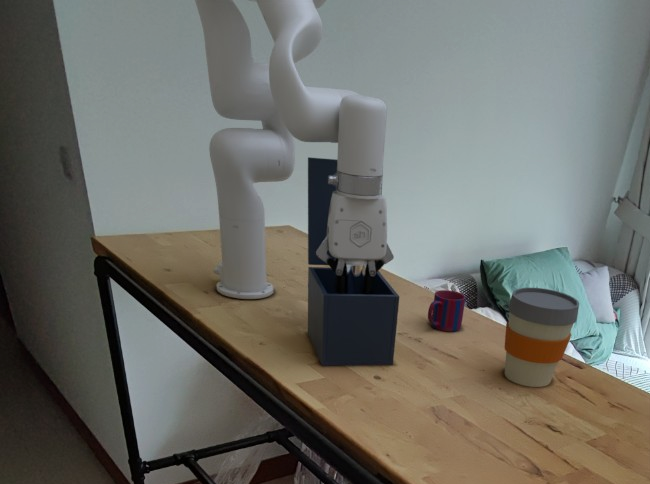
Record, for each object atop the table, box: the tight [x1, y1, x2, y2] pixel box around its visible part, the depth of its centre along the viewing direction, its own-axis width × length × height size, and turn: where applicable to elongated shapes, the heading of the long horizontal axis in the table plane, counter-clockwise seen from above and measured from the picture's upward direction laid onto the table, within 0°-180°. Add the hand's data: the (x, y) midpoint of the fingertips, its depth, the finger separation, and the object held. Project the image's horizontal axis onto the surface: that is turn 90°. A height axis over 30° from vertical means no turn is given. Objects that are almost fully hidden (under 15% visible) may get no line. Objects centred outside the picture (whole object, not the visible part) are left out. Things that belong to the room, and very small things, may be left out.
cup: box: [427, 289, 467, 333], centre depth 139 cm, size 7×10×7 cm
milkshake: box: [343, 259, 368, 294], centre depth 117 cm, size 5×5×10 cm
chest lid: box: [307, 157, 384, 266], centre depth 120 cm, size 18×14×1 cm
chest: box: [307, 266, 400, 367], centre depth 123 cm, size 17×14×13 cm
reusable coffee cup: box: [504, 287, 580, 388], centre depth 120 cm, size 13×12×15 cm
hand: (353, 295), depth 119 cm, fingers closed on milkshake, 4 cm apart
